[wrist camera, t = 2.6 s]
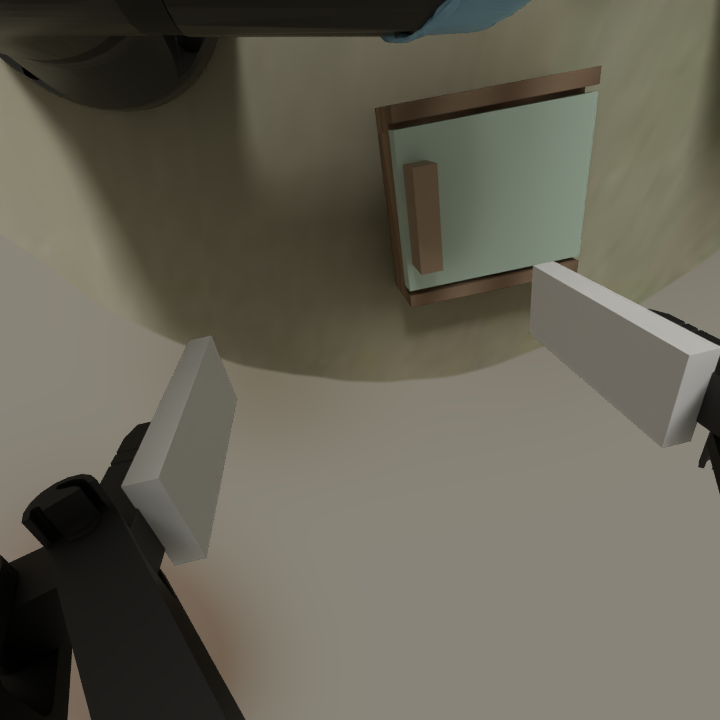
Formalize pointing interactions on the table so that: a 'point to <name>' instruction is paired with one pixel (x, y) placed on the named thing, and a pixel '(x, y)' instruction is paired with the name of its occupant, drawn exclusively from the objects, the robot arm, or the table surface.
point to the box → (458, 107)
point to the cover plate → (492, 189)
